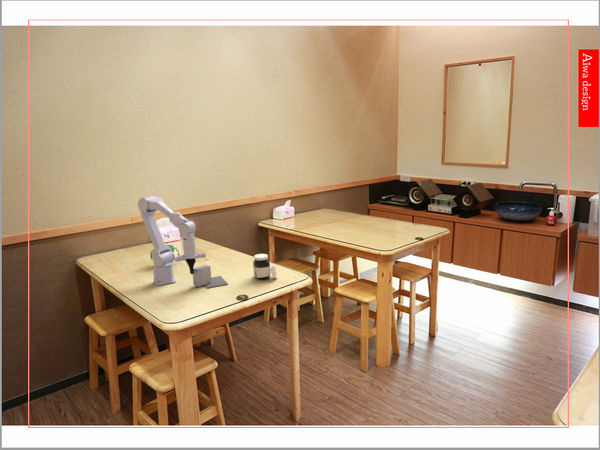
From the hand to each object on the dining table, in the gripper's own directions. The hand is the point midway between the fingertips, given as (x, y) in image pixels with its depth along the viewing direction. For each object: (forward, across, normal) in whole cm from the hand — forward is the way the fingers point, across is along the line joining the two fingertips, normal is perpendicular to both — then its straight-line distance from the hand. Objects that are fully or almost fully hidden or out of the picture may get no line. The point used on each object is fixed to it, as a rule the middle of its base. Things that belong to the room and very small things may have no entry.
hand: (191, 273), depth 215 cm
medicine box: (+6, +5, 0) cm, 8 cm away
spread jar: (+7, +36, -6) cm, 37 cm away
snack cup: (+6, -6, +44) cm, 45 cm away
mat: (+7, +11, 0) cm, 13 cm away
